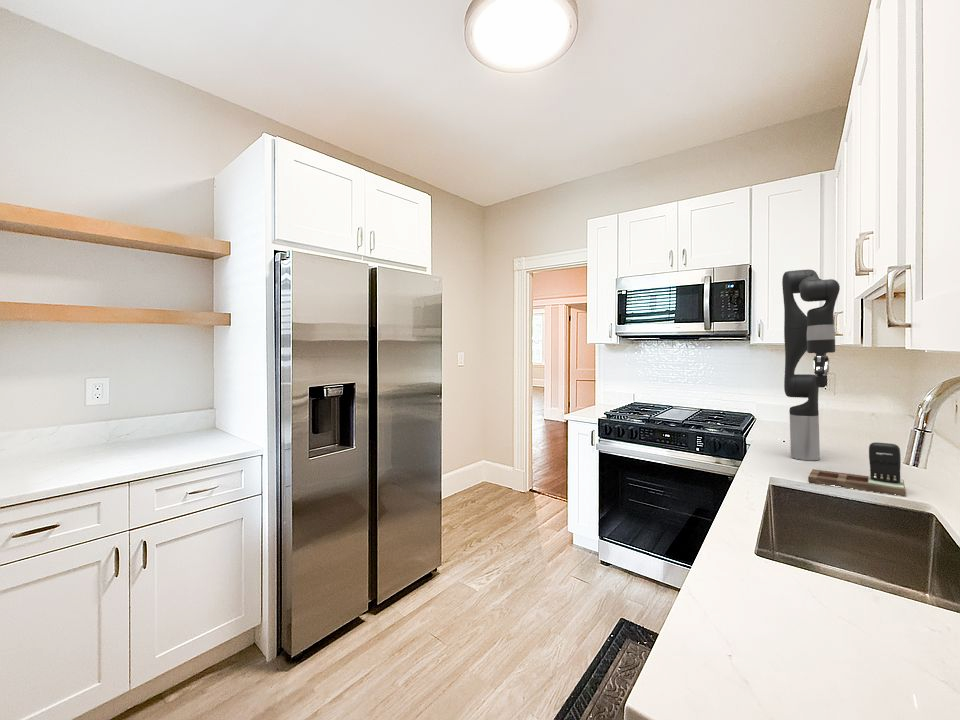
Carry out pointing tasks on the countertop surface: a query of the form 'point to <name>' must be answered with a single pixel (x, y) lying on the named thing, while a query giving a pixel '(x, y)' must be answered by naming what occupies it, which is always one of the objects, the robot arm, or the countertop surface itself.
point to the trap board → (856, 482)
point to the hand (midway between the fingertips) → (822, 386)
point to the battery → (885, 462)
